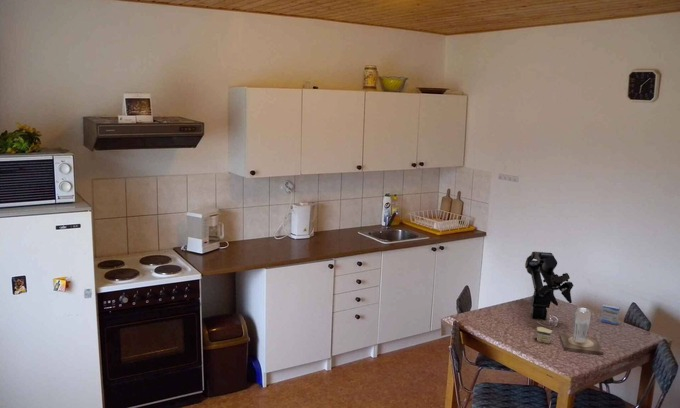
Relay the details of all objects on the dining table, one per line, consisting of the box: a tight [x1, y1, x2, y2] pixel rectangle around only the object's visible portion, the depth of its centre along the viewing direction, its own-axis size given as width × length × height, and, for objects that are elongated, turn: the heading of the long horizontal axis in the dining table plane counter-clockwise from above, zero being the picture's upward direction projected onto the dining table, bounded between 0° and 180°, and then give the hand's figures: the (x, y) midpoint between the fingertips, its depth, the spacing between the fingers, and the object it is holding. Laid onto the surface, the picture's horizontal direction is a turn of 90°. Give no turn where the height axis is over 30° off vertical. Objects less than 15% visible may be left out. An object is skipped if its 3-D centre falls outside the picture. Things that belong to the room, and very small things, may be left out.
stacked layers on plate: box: [535, 326, 553, 344], centre depth 263 cm, size 10×9×6 cm
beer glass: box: [572, 307, 592, 344], centre depth 259 cm, size 7×7×15 cm
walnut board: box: [559, 333, 604, 356], centre depth 259 cm, size 16×16×2 cm
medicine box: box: [600, 303, 621, 326], centre depth 289 cm, size 8×4×9 cm, turn 62°
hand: (564, 304), depth 274 cm, fingers open, 9 cm apart
